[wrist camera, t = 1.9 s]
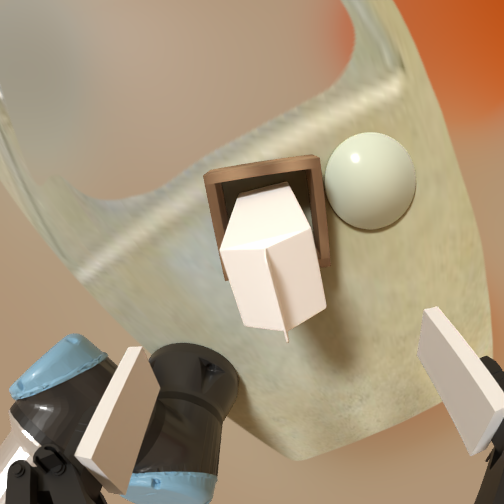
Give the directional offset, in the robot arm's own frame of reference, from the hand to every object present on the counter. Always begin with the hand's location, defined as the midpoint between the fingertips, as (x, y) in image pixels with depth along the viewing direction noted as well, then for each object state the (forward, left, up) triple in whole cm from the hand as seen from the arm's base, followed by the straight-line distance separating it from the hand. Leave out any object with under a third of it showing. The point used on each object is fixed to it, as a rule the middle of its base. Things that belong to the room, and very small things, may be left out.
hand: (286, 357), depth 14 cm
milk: (0, 0, -27) cm, 27 cm away
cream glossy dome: (+13, +2, -27) cm, 30 cm away
